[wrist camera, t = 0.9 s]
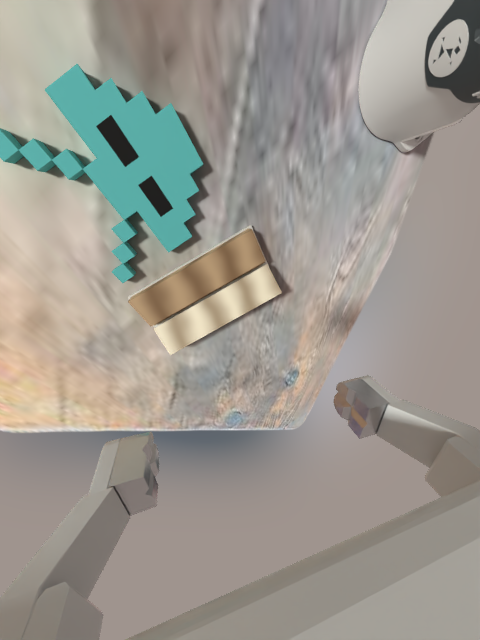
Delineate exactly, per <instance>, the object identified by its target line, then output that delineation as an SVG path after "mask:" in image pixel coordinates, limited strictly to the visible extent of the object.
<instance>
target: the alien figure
mask: <svg viewBox="0 0 480 640" xmlns="http://www.w3.org/2000/svg"><path fill="white" fill-rule="evenodd" d="M45 91H46V92H47V94H48V95H49V96H50V98H51V99H52V100H53V102H54V103H55V104H56V105H57V107H58V108H59V109H60V111H61V112H62V113H63V115H64V116H65V117H66V119H67V120H68V121H69V123H70V124H71V125H72V126H73V128H74V129H75V130H76V132H77V133H78V134H79V136H80V137H81V138H82V140H83V141H84V142H85V144H86V145H87V146H88V147H89V149H90V150H91V151H92V153H93V154H94V155H95V157H96V158H97V159H95V160H94V161H93V162H91V163H90V164H89V165H87V166H86V167H85V166H84V165H83V163H82V162H81V161H80V160H79V158H78V157H77V156H76V155H75V153H74V152H73V151H70V150H68V149H65V150H64V151H63V152H61V153H60V154H59V155H57V156H56V157H55V156H54V155H53V154H52V153H51V152H50V151H49V149H48V148H47V147H46V146H45V145H44V143H43V142H41V141H38V140H36V139H32V140H31V141H29V142H28V143H27V144H26V145H24V146H23V147H22V145H21V144H20V143H19V142H18V141H17V140H16V139H15V138H14V137H13V135H12V134H11V133H10V132H8V131H6V130H3V129H1V128H0V158H1V159H2V160H3V161H4V162H9V163H14V164H15V163H16V162H17V161H19V160H20V159H21V158H23V157H25V158H26V159H27V160H28V161H29V162H30V163H31V164H32V165H33V166H34V168H35V169H36V170H37V171H41V172H47V171H48V170H50V169H51V168H52V167H54V166H55V165H57V166H58V168H59V169H60V170H61V171H62V172H63V173H64V175H65V176H66V177H67V178H68V179H69V180H76V179H78V178H79V177H80V176H82V175H83V174H84V173H86V174H87V175H88V176H89V177H90V179H91V180H92V181H93V182H94V184H95V185H96V186H97V187H98V188H99V190H100V191H101V192H102V193H103V195H104V196H105V197H106V198H107V200H108V201H109V202H110V203H111V204H112V206H113V207H114V208H115V209H116V211H117V212H118V213H119V214H120V216H121V217H122V218H123V219H124V220H123V221H122V222H120V223H119V224H118V225H116V226H115V227H113V228H112V230H113V231H114V232H115V234H116V235H117V236H118V237H119V238H120V239H121V240H122V242H123V244H121V245H120V246H118V247H117V248H116V249H114V250H113V251H112V252H113V253H114V255H115V256H116V257H117V258H118V259H119V260H120V261H121V262H122V263H123V264H121V265H120V266H118V267H117V268H115V269H114V270H113V271H112V273H113V274H114V275H115V276H116V277H117V278H118V279H119V280H120V281H121V282H122V283H124V282H126V281H127V280H128V279H130V278H131V277H133V276H134V275H135V274H136V272H135V271H134V269H133V268H132V267H131V266H130V265H129V264H128V263H127V261H128V260H130V259H131V258H133V257H134V256H135V255H136V254H137V253H136V251H135V250H134V249H133V248H132V247H131V246H130V244H129V243H128V242H127V240H129V239H130V238H131V237H133V236H134V235H136V234H137V233H138V232H137V231H136V229H135V228H134V227H133V226H132V224H131V223H130V222H129V221H128V218H129V217H131V216H132V215H133V214H135V213H136V212H138V213H139V214H140V216H141V217H142V218H143V220H144V221H145V222H146V224H147V225H148V226H149V228H150V229H151V230H152V231H153V233H154V234H155V235H156V237H157V238H158V239H159V241H160V242H161V243H162V245H163V246H164V247H165V249H166V250H167V251H168V252H170V251H172V250H173V249H175V248H176V247H178V246H179V245H180V244H182V243H183V242H185V241H186V240H188V239H189V238H191V237H192V234H191V233H190V231H189V230H188V228H187V227H186V225H185V224H184V222H185V221H187V220H188V219H190V218H191V217H193V216H194V215H196V214H195V213H194V211H193V209H192V208H191V206H190V204H189V203H188V201H187V200H186V199H188V198H189V197H191V196H192V195H194V194H195V193H196V192H198V191H199V189H198V187H197V185H196V184H195V182H194V180H193V178H192V177H191V175H190V174H192V173H193V172H195V171H196V170H197V169H199V168H200V167H202V166H203V162H202V160H201V159H200V157H199V155H198V153H197V151H196V149H195V147H194V145H193V144H192V142H191V140H190V138H189V136H188V134H187V132H186V130H185V129H184V127H183V125H182V123H181V121H180V119H179V117H178V115H177V113H176V112H175V110H174V108H173V106H172V104H171V103H170V104H169V105H168V106H166V107H165V108H164V109H162V110H161V111H160V112H158V113H157V114H155V112H154V111H153V109H152V107H151V105H150V104H149V102H148V100H147V98H146V97H145V95H144V93H143V92H142V91H141V92H140V93H139V94H138V95H136V96H135V97H134V98H132V99H131V100H130V101H128V102H127V103H126V101H125V100H124V98H123V96H122V95H121V93H120V92H119V90H118V88H117V87H116V85H115V83H114V82H113V80H112V79H111V78H110V79H109V80H108V81H106V82H105V83H104V84H102V85H101V86H100V87H99V88H97V89H95V88H94V86H93V85H92V83H91V82H90V80H89V79H88V77H87V76H86V74H85V73H84V71H83V70H82V69H81V68H80V67H79V65H78V64H76V65H75V66H74V67H72V68H71V69H70V70H69V71H67V72H66V73H65V74H64V75H62V76H61V77H60V78H59V79H57V80H56V81H55V82H54V83H52V84H51V85H50V86H49V87H47V88H46V89H45Z"/></svg>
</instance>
